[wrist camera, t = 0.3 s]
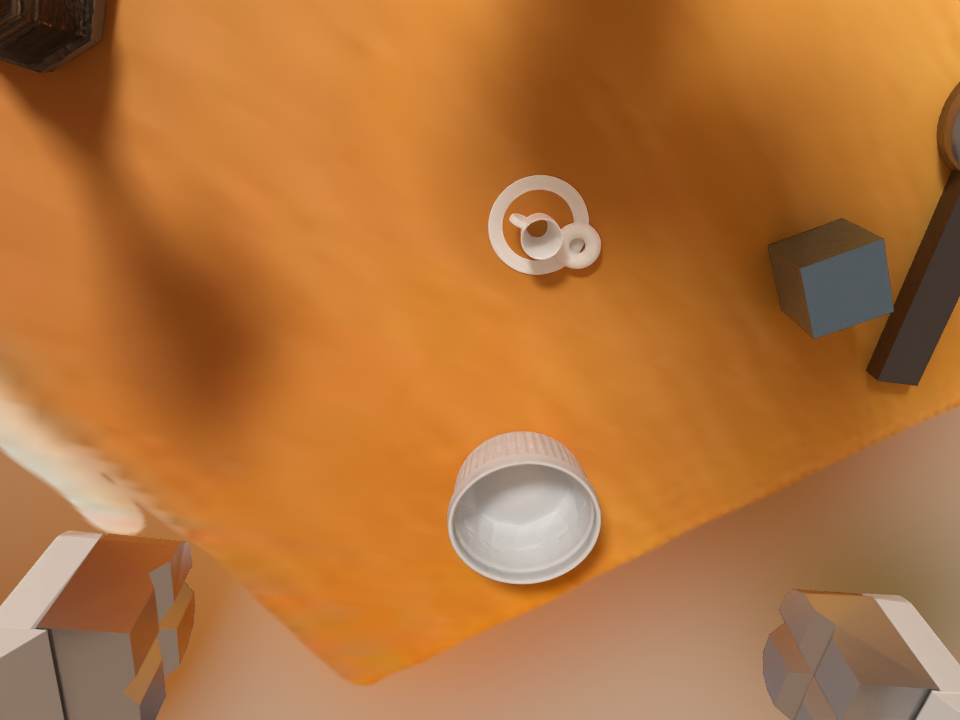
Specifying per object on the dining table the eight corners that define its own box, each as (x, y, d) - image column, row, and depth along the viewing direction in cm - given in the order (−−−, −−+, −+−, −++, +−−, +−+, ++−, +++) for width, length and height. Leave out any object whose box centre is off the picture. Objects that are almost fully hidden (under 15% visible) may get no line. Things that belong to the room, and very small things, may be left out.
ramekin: (592, 527, 68) (605, 578, 62) (458, 542, 68) (458, 593, 62) (585, 410, 62) (598, 452, 56) (439, 426, 63) (436, 470, 56)
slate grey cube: (767, 245, 56) (799, 268, 51) (842, 218, 55) (883, 238, 50) (781, 310, 58) (814, 338, 53) (853, 285, 58) (894, 311, 52)
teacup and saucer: (612, 241, 56) (623, 256, 52) (532, 298, 58) (536, 316, 54) (550, 152, 53) (556, 161, 49) (467, 215, 55) (467, 229, 51)
